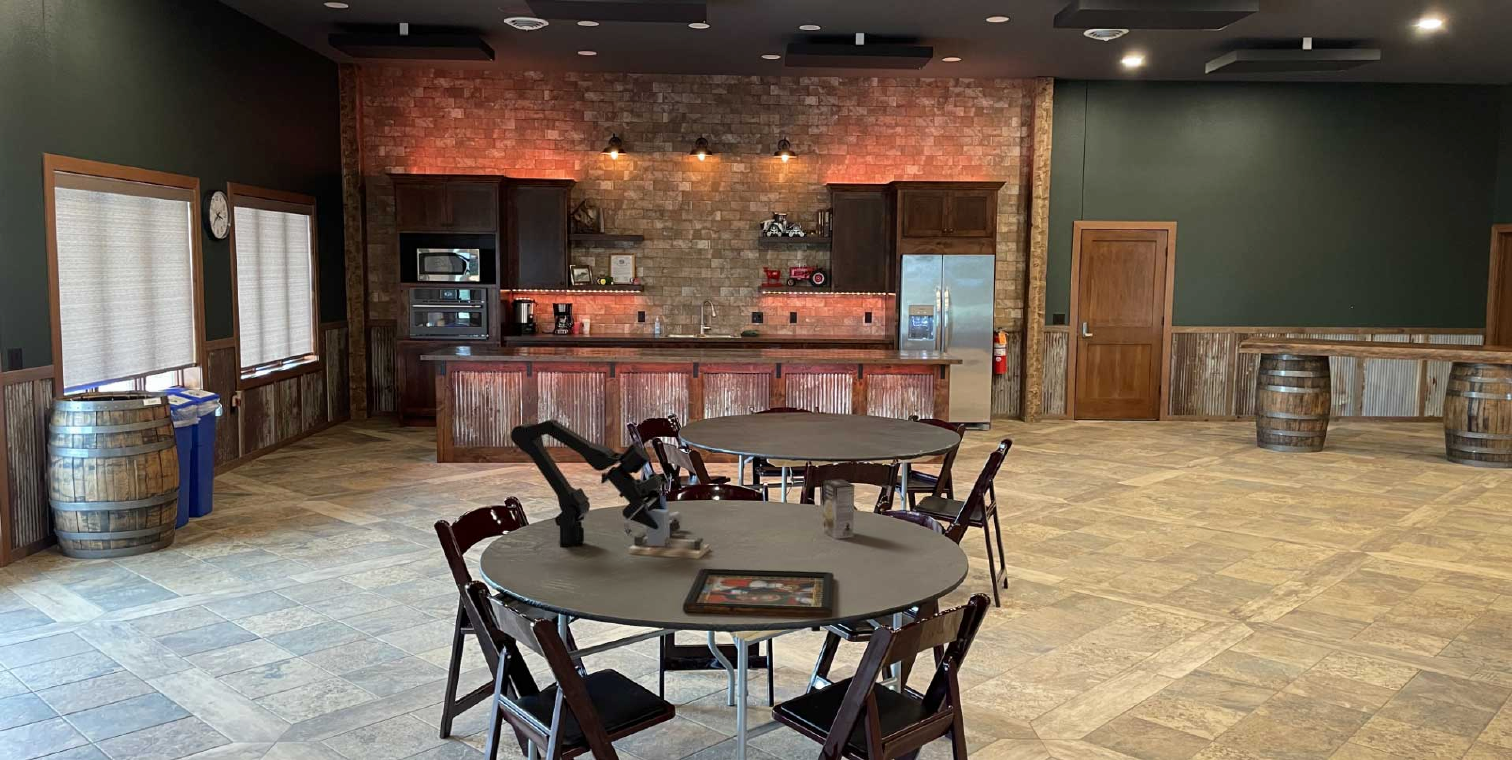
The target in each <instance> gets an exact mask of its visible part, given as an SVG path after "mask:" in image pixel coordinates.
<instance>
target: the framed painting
mask: <svg viewBox="0 0 1512 760" xmlns="http://www.w3.org/2000/svg"><path fill="white" fill-rule="evenodd" d="M834 581H835V580H834V573H833V572H827V571H801V570H770V569H769V570H762V569H757V570H756V569H727V568H700V569H699V571H698V573H697V575H696V578H695V579H694V581H693V584H692V585H691V587H690V590H689V592H688V594H687V595H686V598H685V600H684V601H683V604H682V611H683V612H684V611H685V613H701V612H711V613H710V614H725V613H737V614H736V615H748V614H760V615H759V616H780V617H781V616H786V617H789V616H790V617H806V616H819V617H818V618H831V617H832V616H833V608H834V583H835V582H834ZM713 612H714V613H713Z"/></svg>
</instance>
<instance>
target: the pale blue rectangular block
mask: <svg viewBox="0 0 1512 760" xmlns="http://www.w3.org/2000/svg"><path fill="white" fill-rule="evenodd" d="M670 513H671V512H670V509H666V510H661V509H652V510H651V511H649V514H650V515H651V516H652V518H653V519H654V520H655V522H656V523H657V525H658V526H659V528H658V529H657V530H655V529H653V528H651V527H648V526H646V527H647V528H646V537H647V545H651V546H665V539H666V538H671V537H670V535H671V534H670V533H671V532H670Z"/></svg>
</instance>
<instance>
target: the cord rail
mask: <svg viewBox="0 0 1512 760" xmlns="http://www.w3.org/2000/svg"><path fill="white" fill-rule="evenodd" d="M633 538H634V539H633V541H634V542H633V543H634V544H633V545H631V546H629V548H628V554H632V555H645V556H646V555H648V556H657V557H668V558H669V557H671V558H684V559H698V560H699V559H701V557H703V555H705V554H707V552H708V551H709V550H710V544H708V543H707V544H706V543H704V537H698V538H697V539H696V540H694V539H686V538H685V539H682V538H681V539H680V538H671V537H670V538H666V539H665V546H651V545H647V533H638V534H637V535H635V536H634V537H633Z"/></svg>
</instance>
